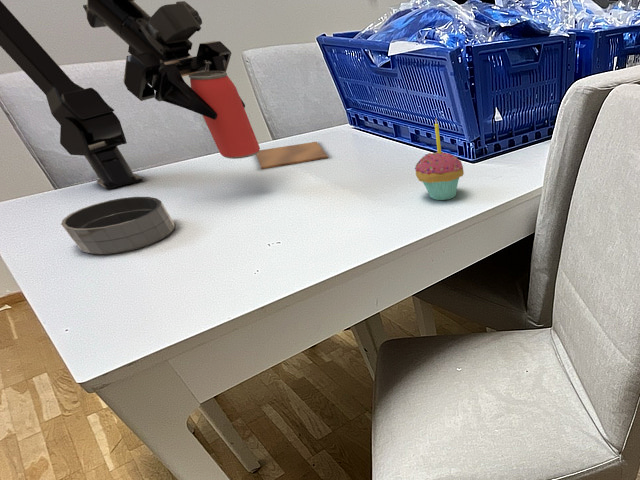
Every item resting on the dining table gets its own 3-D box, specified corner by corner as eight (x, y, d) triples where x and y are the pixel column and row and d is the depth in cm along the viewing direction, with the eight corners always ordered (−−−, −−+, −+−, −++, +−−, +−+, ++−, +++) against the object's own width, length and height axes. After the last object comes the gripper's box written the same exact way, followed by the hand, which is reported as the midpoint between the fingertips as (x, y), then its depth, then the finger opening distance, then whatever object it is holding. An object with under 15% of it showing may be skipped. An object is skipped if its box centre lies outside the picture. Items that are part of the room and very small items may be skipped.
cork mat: (261, 169, 96) (260, 167, 95) (255, 152, 105) (254, 151, 104) (328, 158, 100) (327, 156, 100) (317, 143, 109) (316, 141, 109)
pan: (70, 240, 72) (51, 215, 69) (158, 214, 79) (144, 190, 76) (95, 263, 65) (75, 237, 63) (188, 233, 72) (174, 208, 70)
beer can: (263, 156, 80) (230, 74, 72) (222, 162, 78) (184, 78, 69) (259, 146, 84) (228, 68, 76) (220, 152, 82) (184, 72, 73)
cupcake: (428, 186, 86) (416, 114, 77) (471, 188, 85) (463, 115, 76) (414, 203, 80) (398, 127, 71) (460, 205, 79) (449, 128, 70)
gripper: (85, -20, 59) (200, 83, 65) (192, -23, 72) (279, 63, 78) (80, 53, 66) (185, 141, 71) (179, 38, 79) (260, 113, 84)
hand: (230, 112), depth 76 cm, fingers closed on beer can, 6 cm apart
